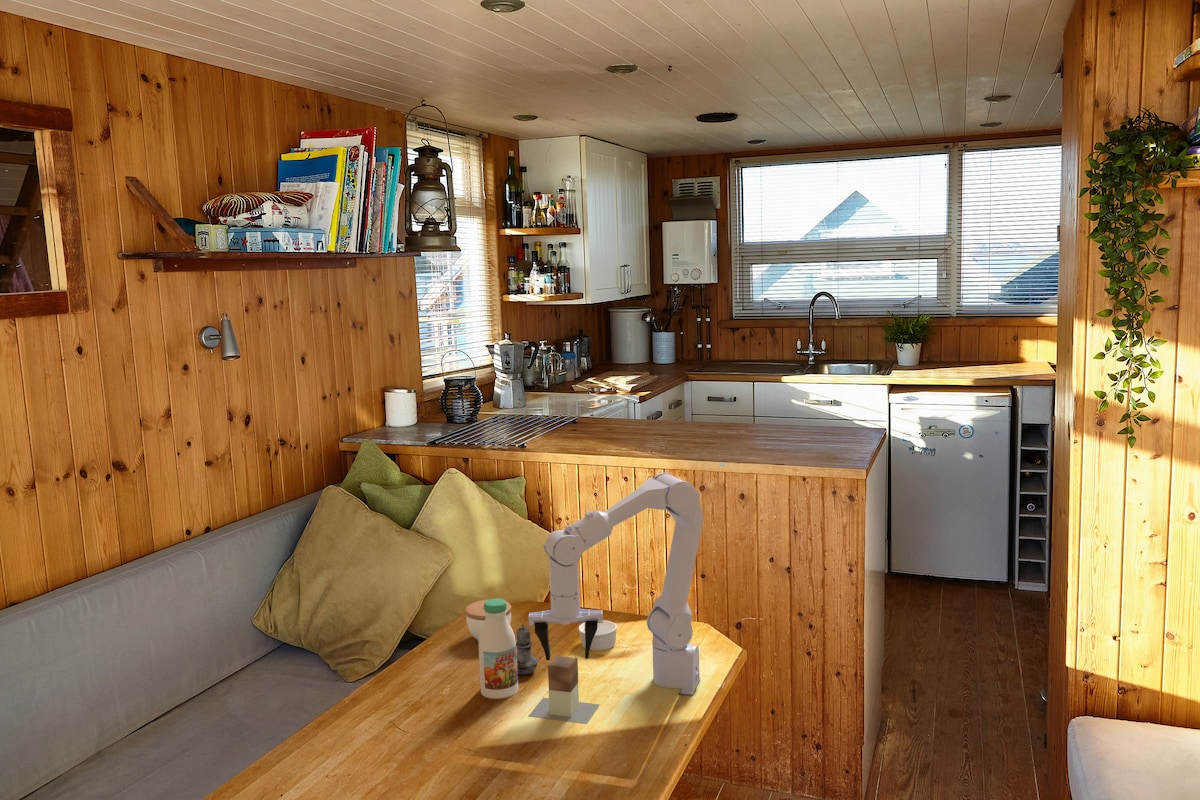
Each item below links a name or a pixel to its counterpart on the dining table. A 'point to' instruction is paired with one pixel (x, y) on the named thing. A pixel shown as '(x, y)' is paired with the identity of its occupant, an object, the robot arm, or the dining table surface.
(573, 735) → the dining table surface
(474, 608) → the lidded jar
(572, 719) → the plate
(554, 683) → the walnut block
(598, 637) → the ramekin
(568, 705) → the sage block
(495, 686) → the milk bottle
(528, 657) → the grey chess piece
